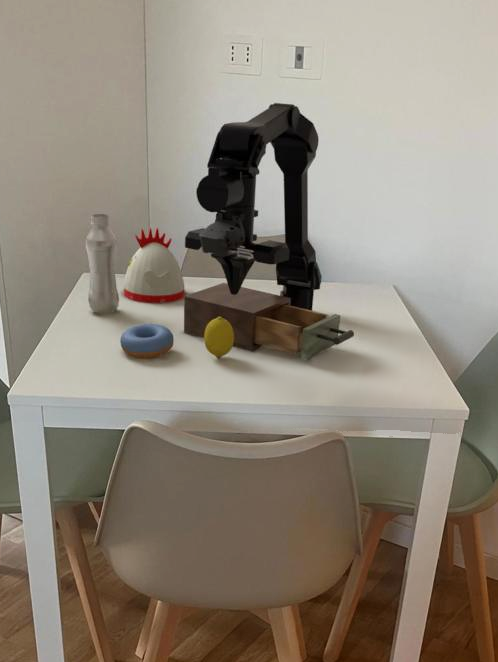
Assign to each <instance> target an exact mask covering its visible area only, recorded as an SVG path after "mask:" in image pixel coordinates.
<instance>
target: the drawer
mask: <svg viewBox="0 0 498 662" xmlns="http://www.w3.org/2000/svg"><path fill="white" fill-rule="evenodd" d="M340 323H341V314H338V313H334V314H332V315H330V316H328V313H324V312H319V311H316V310H312V311H311V310H307V309H303V308H298V307H294V306H290V305H286V304H284V305H282V306H279V307H277V308H274V309H272V310H269V311H267V312H265V313H262V314H260V315H257V316H256V319H255V338H254V343H256V344H259V345H263V346H262V347H267V348H270V349H275V350H279V351H283V352H287V353H290V354H293V355H299V354H300V359H301V360H305V361H307V360H309V359H311V358H313V357H315V356H316V355H318V354H321V353H322V352H324V351H326V350H328V349H330V348H332V347H334V346H338V345H340V344H343V343H344V342H346V341H347V340H350V339H351V338H354V336H355V332H354V330H352V329H349V330H344V329H340V325H341V324H340Z"/></svg>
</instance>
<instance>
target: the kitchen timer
mask: <svg viewBox="0 0 498 662" xmlns="http://www.w3.org/2000/svg"><path fill="white" fill-rule="evenodd" d="M144 231H145V230H144V229H143V228H141V229H140V238H139V237H138V235H137V234H136V233H134V236H135V239H136V241H137V244H138V246H139V248H138V249H137V250H136V252H135V253H134V254H133V256H132V257H131V259H130V261H129V262H128V263H127V265H128V266H127V270H126V273H125V277H124V280H123V281H124V282H123V294H124V297H126V298H127V299H129V300H132V301H135V302H140V303H149V304H162V303H163V304H164V303H171V302H172V303H173V302H176V301H179V300H182V299H184V296H185V293H186V292H185V291H186V290H185V289H186V288H185V280H184V276H183V273H182V271H181V267H180V264H179V262H178V260H177V259H176V256H174V254H173V252H172V251H171V250H170V249H169V247H170V245H171V243H172V237H170V238H169V239H168V240H167V242H165V238H166V233H165V232H163V233H162V234H161V236H160V232H159V228H158V227H156V228H155V233H154V236H153V230H152V227H149V230H148V235H147V237H146V234H145V232H144Z"/></svg>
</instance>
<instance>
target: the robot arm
mask: <svg viewBox="0 0 498 662" xmlns="http://www.w3.org/2000/svg"><path fill="white" fill-rule="evenodd" d="M319 141H320V140H319V134H318V131H317V129H316V127H315V124H314V122H312V121H311V120H310V119H308V118H307V117H306V116H305V115H303V114H302V113H301V111H300V108H299V106H297V105H295V104H294V103H293V104H292V103H282V102H274V103H272V104H269V106H268V108H266V109H265V110H263V111H262V112H260V113H259V114H257V115H255V116H254V117H252V118H251V119H249V120H248V121H239V122H238V121H237V122H236V121H235V122H233V121H232V122H227V123H224V124H223V125H222V126H221V127H220V128H219V131H218V132H217V134H216V137H215V140H214V143H213V146H212V149H211V153H210V155H209V157H208V158H209V159H208V162H207V165H206V166H207V175H205V176H204V177H202V178H201V179H200V181H199V182H198V184H197V187H196V190H195V191H196V192H195V193H196V199H197V201H198V203H199V205H200V207H201V208H202V209H204V210H205V211H206V212H209V213H215V221H214V222H212V223H210V224H209V225H208V226H207V227H205V228H204V227H202V228H197V229H193V230H189V231H187V232H186V235H185V237H184V248H185V249H190V250H194V251H200V249H201V251H202V253H204V254H210V257H211V258H213V259H215V260H216V261H217V262H218V263H219V264H220V265H221V268H222V270H223V273H224V276H225V281H226V283H227V284H228V286H229V290H230V293H231V294H233V295H236V294H238V292H239V290H240V288H241V287H243V286H242V285H243V283H244V282H245V279H246V278H247V275H248V274H249V272H250V270H251V269H252V267H253V265H254V264H255V262H256V263H261V264H266V265H275V274H276V285H277V286H282V290H280V292H279V296H284V297H288V298H291V302H290V306H294V307H298V308H303V309H307V310H311V311H313V306H314V305H313V304H314V293H315V290H320V289H321V285H322V277H323V276H322V273H321V270H320V267H319V264H318V262H317V254H316V253H317V252H316V250H315V248H314V246H313V245H312V243H311V242H310V240H309V236H308V235H309V213H308V212H309V207H308V206H309V203H308V202H309V197H308V196H309V190H308V188H309V185H308V183H309V181H308V179H309V176H308V175H309V174H308V173H309V172H308V171H309V169H310V167H311V165H312V163H313V162H314V160H315V159H316V155H317V151H318V148H319ZM269 143H270V145H271V147H272V148H273V154H274V161H275V163H276V165H277V166H278V168H279V169H280V171H281V173H282V174H283V175H282V176H283V207H284V209H283V210H284V211H283V213H284V242H282V241H276V240H266V241H262V242H259V243H255V242H256V241H257V240H258V234H256V233H254V228H255V227H254V224H255V218H257V217H259V210H258V209H255V207H256V187H257V176H258V175H259V174H260V172H261V171H260V169H259V166H260V164H261V162H262V158H263V157H265V155H266V153H267V150H266V149H267V145H268V144H269Z"/></svg>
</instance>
